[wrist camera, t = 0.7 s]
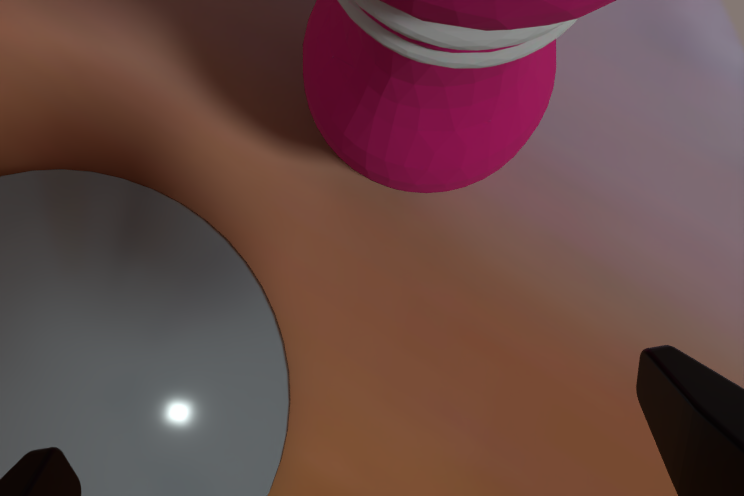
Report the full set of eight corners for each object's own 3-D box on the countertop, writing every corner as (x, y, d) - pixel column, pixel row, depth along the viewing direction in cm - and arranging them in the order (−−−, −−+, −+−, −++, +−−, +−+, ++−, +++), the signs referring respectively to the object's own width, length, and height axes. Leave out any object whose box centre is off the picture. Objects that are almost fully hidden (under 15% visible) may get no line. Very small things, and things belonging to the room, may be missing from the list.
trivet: (371, 485, 22) (371, 493, 22) (-27, 707, 22) (-41, 723, 22) (155, 93, 23) (147, 86, 22) (-235, 309, 23) (-258, 310, 22)
